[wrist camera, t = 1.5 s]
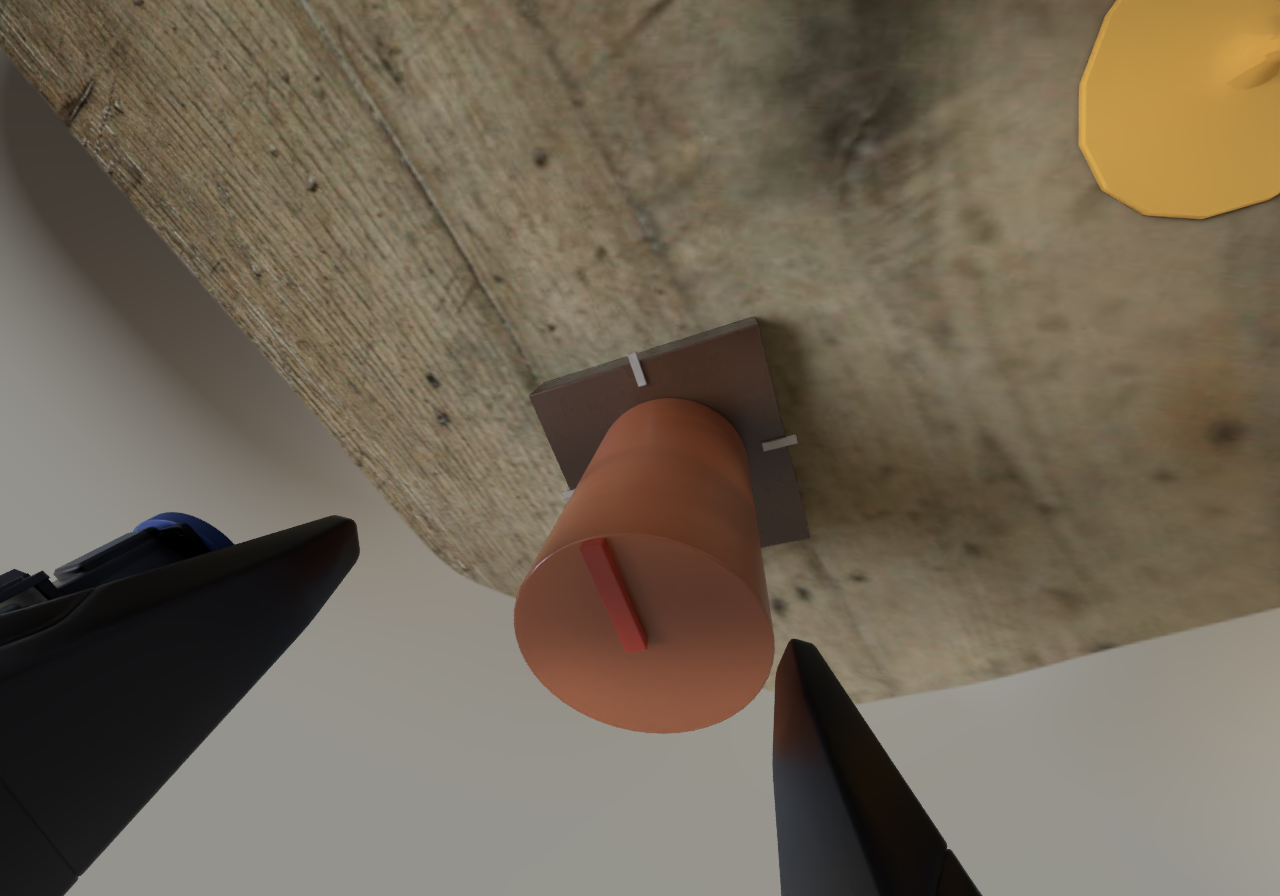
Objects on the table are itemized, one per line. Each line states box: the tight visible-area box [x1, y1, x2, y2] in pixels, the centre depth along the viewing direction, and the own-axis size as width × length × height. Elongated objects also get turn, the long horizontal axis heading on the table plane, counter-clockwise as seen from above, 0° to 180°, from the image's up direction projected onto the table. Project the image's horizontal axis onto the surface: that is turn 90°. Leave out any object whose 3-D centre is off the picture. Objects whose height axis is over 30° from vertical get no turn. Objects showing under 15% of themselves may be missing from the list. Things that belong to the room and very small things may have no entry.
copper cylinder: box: [514, 398, 775, 733], centre depth 16 cm, size 7×7×10 cm
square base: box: [529, 317, 810, 547], centre depth 22 cm, size 11×11×2 cm
